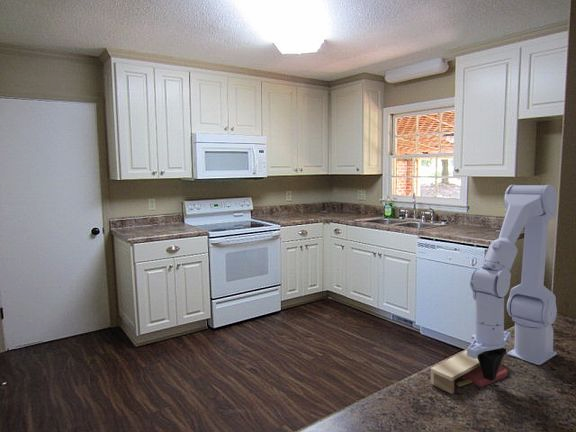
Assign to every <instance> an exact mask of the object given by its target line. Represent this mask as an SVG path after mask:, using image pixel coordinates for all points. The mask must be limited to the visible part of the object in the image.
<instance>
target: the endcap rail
mask: <svg viewBox="0 0 576 432" xmlns="http://www.w3.org/2000/svg"><path fill="white" fill-rule="evenodd" d="M503 364H504V357H503V358H502V360H501V363H500V365H501V366H503ZM477 367H481V366H480V363H479V361H478V359H477V358H476V359H474V358H471V357H469V356H467V349H466V350H464V351H463V352H461V353H459V354H455V355H454V356H452V357H450V358H449V359H446V360H444V361H441V362H440V363H438V364H436V365H434V366H432V367H430V384H431V385H433V386H434V387H436V388H439V389H441V390H442V391H445V392H448V393H449V394H451V395H453V394H454V393H455V380H456V379H458V378H460V377H462V375H464V374H465V373H467V372H469V371H471V370H473V369H475V368H477Z"/></svg>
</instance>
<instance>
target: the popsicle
mask: <svg viewBox="0 0 576 432" xmlns="http://www.w3.org/2000/svg"><path fill="white" fill-rule="evenodd" d="M508 374H509V373H508V369H507V368H506V366H503V365H499V368H498V372H497V375H496V378H495V379H494V380H493V381H491V380H488V379H486V378H484V377H483V373H482V369H481V366H478V367H476V368H475V369H473V370H471V371H469V372H467V373H465V374H464V375H462V376H461V377H462V378H463V379H464V380H462V381H459V382H456V384H455V386H457V387H462V386H465V385H467V384H471V383H473V384H474V385H476V386H478V387H483V386H484V387H485V386H486V385H489V384H492V383H495V382H496V381H499V380H501V379H504V378H506V377H507V376H508Z"/></svg>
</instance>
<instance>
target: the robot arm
mask: <svg viewBox="0 0 576 432" xmlns="http://www.w3.org/2000/svg"><path fill="white" fill-rule="evenodd" d="M504 207H505V210H506V211H505V212H506V213H505V215H504V219H503V222H502V226H501V229H500V231H499V236H498V238H496V239H494V240H492V241H491V242H490V243H489V246H488V249H487V251H486V253H485V256H484V259H483V261H482V263H481V266H480V267H479V268H478V269H475V270H474V271H473V272H472V273H471V277H470V281H469V286H470V289H471V292H472V298H473V300H474V301H475V333H474V334H471V336H470V337H471V338H470V339H472V342H471V343H470V345H469V346H468V347H467V348H466V350H467V356H469V357H471V358H474V359H476V358H477V359H478V361H479V363H480V366H479V367H481V369H482V373H483V377H484V378H486V379H488V380H491V381H493V380H494V379H495V378H496V375H497V372H498V368H499V365H500V363H501V360H502V358H503V359H504V357H505V356H506V354H507V355H508V356H511V357H514V358H517V359H520V360H522V361H526V362H528V363H531V364H534V365H537V366H540V365H542V364H544V363H546V362H547V361H549V360H550V359H552V358H553V357H555V356H557V354H558V353H557V351H554V327H553V326H552V324H553V323H555V321H556V318H557V315H558V309H557V303H556V302H557V300H556V299H557V297H556V295H555V294H554V293H553V292H552V291H551V290H550V289H549V288H547V287H546V286H545V285H544V284H545V283H544V282H545V272H546V271H545V269H546V258H547V257H546V256H547V244H548V232H549V231H548V230H549V221H551V220H553V219H555V218H556V214H557V211H558V210H557V208H558V193H557V190H556V189H555V187H554V186H553V185H552V184H546V185H545V184H543V185H541V184H540V185H538V184H534V185H533V184H532V185H529V184H527V185H526V184H525V185H523V184H521V185H520V184H517V185H516V184H510V185H509V186H508V187H507V188H506V190H505V192H504ZM523 229H524V235H523V236H524V238H523V248H522V249H523V250H522V263H521V265H522V266H521V279H520V283H519V284H518V285H516V286H513V287H511V288H510V286H511V277H512V273H511V269H512V267H513V264H514V262H515V259H516V256H517V255H518V251H519V250H518V248H517V246H516V242H517V240H518V239H519V237H520V236H521V233H522V232H523ZM509 290H510V291H509ZM508 292H509V297H508V299H507V301H506V311H507V313H508V316H510V317H511V321H512V322H514V348H512V349H511V350H510V351H508V352H507V349H506V348H504V347H505V346H506V343H507V342H510V341H511V340H512V339H511V337H512V336H511V335H512V334H511V332H509V331H506V330H505V296H506V295H507V294H508Z"/></svg>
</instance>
